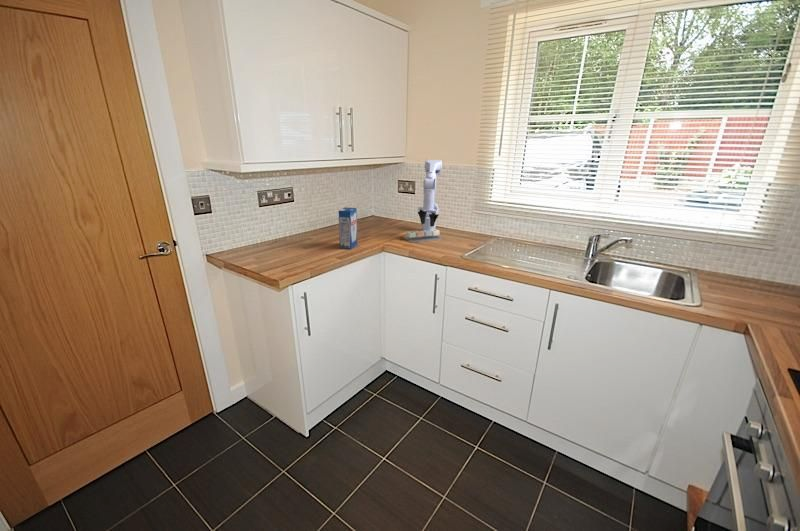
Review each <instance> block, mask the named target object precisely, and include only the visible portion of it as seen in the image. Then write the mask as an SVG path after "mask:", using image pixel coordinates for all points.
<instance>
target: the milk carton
mask: <svg viewBox="0 0 800 531" xmlns="http://www.w3.org/2000/svg"><path fill="white" fill-rule="evenodd" d="M357 210H358V209H357V207H344V208H341V209H338V228H339V229H338V232H339V249H342V250H352V249H353V247H354V248H355V247H356V246H357V245H358V221H357V220H358V218H357V217H358V215H357V214H358V213H357Z"/></svg>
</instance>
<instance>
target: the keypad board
mask: <svg viewBox="0 0 800 531" xmlns="http://www.w3.org/2000/svg"><path fill="white" fill-rule="evenodd" d="M403 238H404V239H406V240H407V241H409V242H411V243H420V242H431V241H441V240H444V238H442V237H439V235H432V236H425V235H424V236H422V237H417V236H416V237H408V236H403Z"/></svg>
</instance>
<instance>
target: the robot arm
mask: <svg viewBox="0 0 800 531" xmlns="http://www.w3.org/2000/svg"><path fill="white" fill-rule="evenodd" d="M442 160H443V159H427V158H426V160H425V162H424V170H425V177H424V178H425V179H423V185H422V186H423V206H418V209H417V210H418V211H417V214H418V217H419V219H420V224H421V231H423V230H435V229H436V225H437V219H438V218H439V216H440V214H439V213H440V212H439V211H440V210H439V204H437V203H436V192H437V190H436V189H437V178H438V177H439V176H440V175H441V174H442V166H443V161H442Z"/></svg>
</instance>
